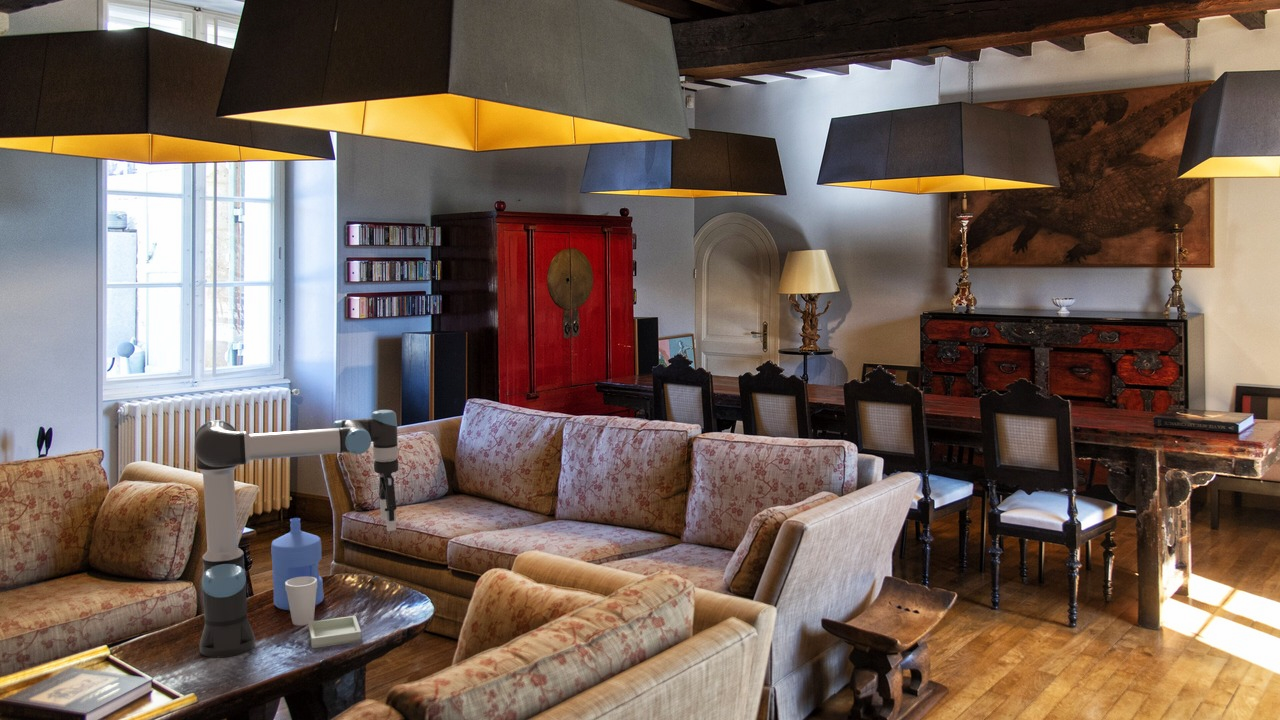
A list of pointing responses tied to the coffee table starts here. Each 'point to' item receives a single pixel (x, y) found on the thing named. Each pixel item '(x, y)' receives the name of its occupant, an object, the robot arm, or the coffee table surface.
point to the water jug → (295, 562)
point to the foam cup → (301, 599)
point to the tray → (334, 631)
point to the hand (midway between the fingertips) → (388, 524)
